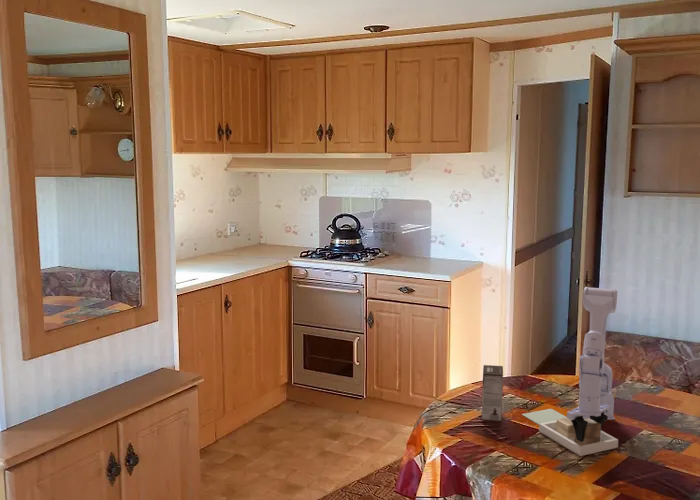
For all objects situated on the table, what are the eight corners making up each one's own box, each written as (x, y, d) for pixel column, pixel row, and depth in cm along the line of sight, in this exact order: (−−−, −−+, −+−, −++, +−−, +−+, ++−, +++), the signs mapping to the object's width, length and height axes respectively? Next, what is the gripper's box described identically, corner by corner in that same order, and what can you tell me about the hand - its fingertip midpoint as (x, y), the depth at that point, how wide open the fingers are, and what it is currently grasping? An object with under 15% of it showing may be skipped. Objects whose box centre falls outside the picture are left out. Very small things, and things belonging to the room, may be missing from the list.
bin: (574, 425, 209) (575, 416, 208) (617, 449, 192) (618, 439, 192) (538, 432, 203) (539, 423, 203) (580, 457, 187) (580, 448, 187)
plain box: (569, 429, 205) (569, 417, 204) (580, 435, 200) (581, 423, 199) (556, 431, 203) (556, 419, 202) (567, 438, 198) (568, 425, 198)
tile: (550, 410, 221) (551, 408, 220) (576, 424, 210) (576, 422, 209) (521, 416, 216) (521, 414, 216) (545, 430, 205) (545, 428, 205)
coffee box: (481, 410, 221) (483, 364, 219) (501, 411, 220) (502, 365, 217) (481, 421, 212) (483, 373, 210) (501, 422, 211) (503, 374, 209)
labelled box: (587, 439, 197) (588, 417, 196) (599, 446, 193) (601, 423, 192) (574, 442, 195) (575, 419, 194) (586, 449, 191) (587, 426, 190)
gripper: (579, 403, 185) (577, 448, 187) (619, 395, 191) (616, 439, 193) (562, 394, 192) (560, 438, 194) (601, 387, 197) (598, 430, 199)
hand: (587, 438), depth 194 cm, fingers closed on labelled box, 5 cm apart
